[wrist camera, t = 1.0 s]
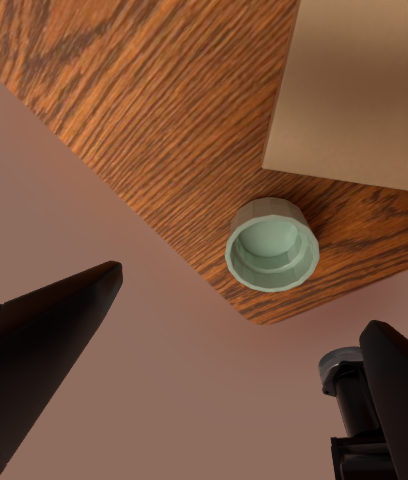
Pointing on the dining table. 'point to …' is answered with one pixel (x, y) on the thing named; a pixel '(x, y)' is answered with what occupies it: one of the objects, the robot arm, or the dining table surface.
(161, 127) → the dining table surface
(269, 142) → the plate
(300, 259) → the bowl
